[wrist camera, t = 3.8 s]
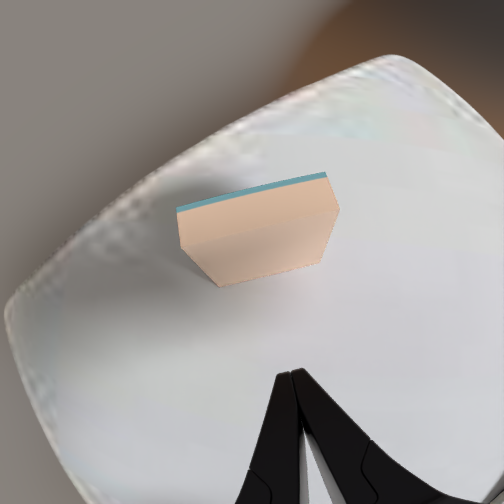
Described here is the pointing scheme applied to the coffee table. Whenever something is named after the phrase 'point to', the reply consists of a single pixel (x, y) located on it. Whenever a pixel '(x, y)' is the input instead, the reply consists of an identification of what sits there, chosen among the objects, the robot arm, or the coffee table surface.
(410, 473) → the robot arm
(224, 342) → the coffee table surface
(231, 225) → the tile
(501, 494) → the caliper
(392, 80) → the coffee table surface
